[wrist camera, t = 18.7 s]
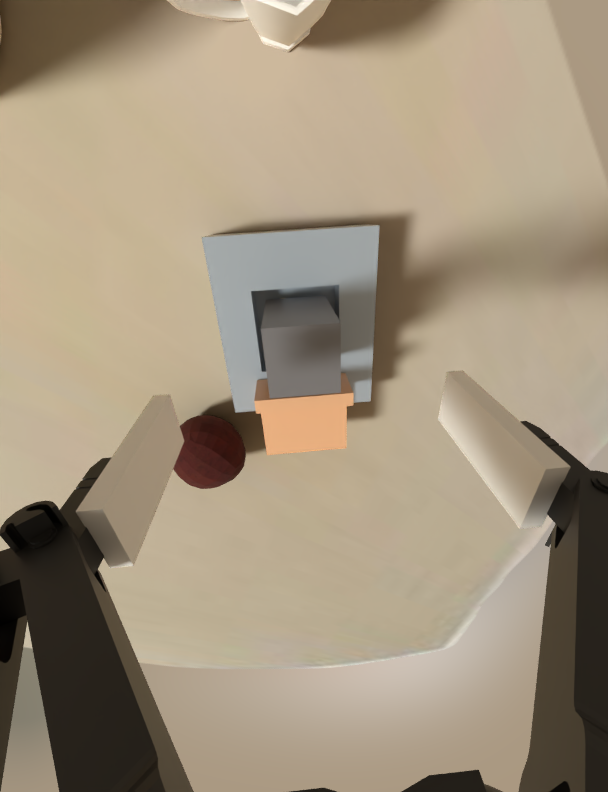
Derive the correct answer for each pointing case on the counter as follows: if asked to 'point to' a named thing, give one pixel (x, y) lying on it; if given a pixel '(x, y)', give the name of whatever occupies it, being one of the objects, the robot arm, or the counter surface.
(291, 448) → the orange l-shaped bracket
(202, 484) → the dark brown ball
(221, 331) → the socket block
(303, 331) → the plug
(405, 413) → the counter surface
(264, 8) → the cup
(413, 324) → the counter surface
